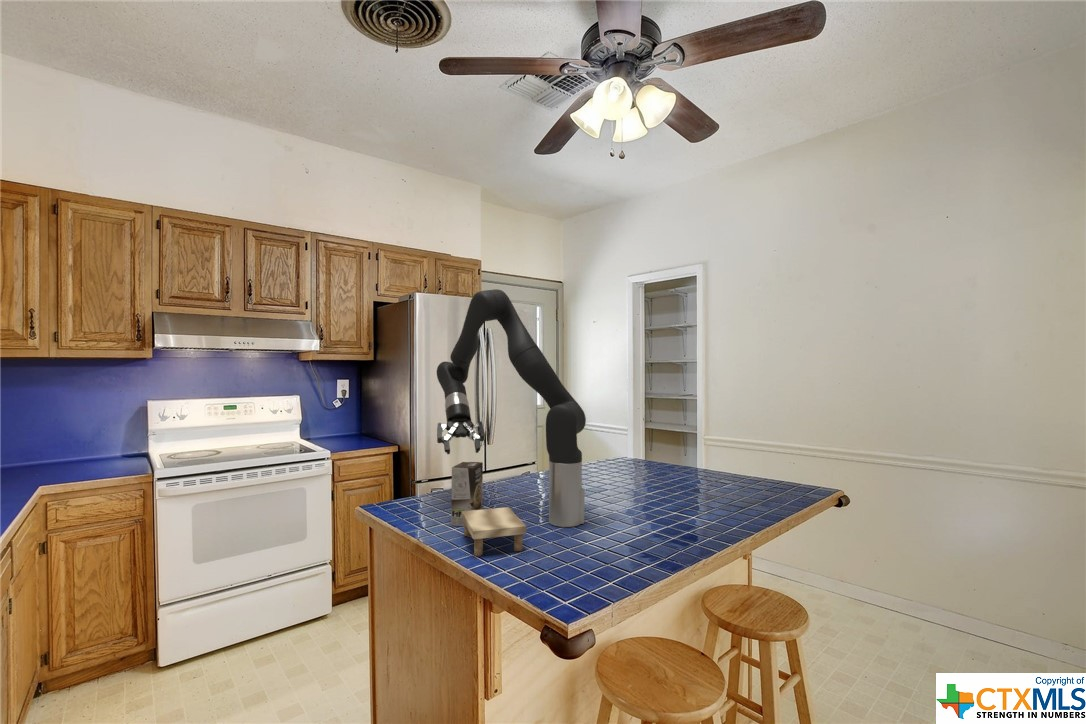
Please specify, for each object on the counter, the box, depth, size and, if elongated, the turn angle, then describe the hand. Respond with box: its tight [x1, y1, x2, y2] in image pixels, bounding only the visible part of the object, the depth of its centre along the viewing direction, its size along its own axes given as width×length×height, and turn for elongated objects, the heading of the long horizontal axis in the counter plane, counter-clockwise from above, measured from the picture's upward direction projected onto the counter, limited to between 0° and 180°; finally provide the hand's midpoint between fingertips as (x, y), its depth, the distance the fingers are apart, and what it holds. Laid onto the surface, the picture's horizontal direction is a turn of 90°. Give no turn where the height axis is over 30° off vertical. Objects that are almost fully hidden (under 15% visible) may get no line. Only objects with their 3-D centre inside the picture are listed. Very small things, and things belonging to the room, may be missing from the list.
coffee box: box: [450, 461, 484, 527], centre depth 141 cm, size 9×6×16 cm
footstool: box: [462, 506, 527, 557], centre depth 124 cm, size 13×17×6 cm
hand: (463, 452), depth 149 cm, fingers open, 8 cm apart
